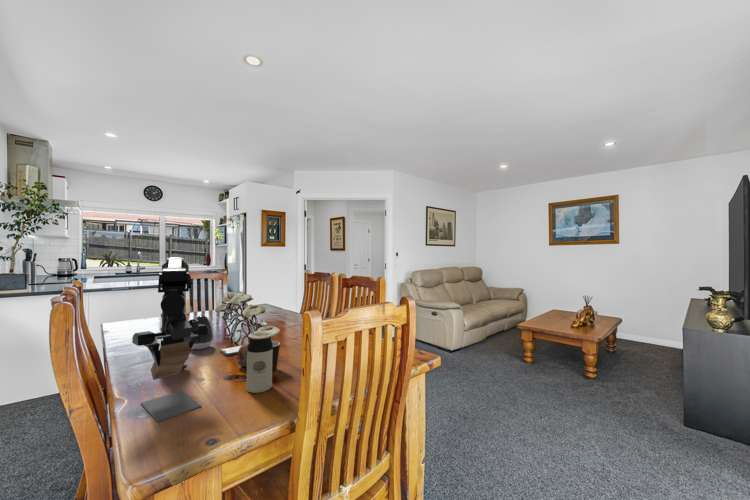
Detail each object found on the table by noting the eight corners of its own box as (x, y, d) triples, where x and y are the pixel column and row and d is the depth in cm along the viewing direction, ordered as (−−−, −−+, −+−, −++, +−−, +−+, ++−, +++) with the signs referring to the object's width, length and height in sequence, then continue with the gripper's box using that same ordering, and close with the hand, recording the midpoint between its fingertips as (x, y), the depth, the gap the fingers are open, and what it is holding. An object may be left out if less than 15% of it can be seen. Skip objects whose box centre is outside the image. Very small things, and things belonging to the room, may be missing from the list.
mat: (140, 404, 93) (140, 402, 93) (181, 391, 101) (181, 390, 101) (157, 422, 83) (157, 420, 83) (201, 406, 92) (201, 405, 92)
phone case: (254, 346, 153) (219, 352, 142) (254, 343, 153) (219, 349, 142) (261, 350, 147) (226, 357, 135) (262, 347, 147) (226, 354, 136)
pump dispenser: (182, 350, 143) (183, 317, 143) (199, 344, 153) (200, 312, 153) (201, 352, 141) (202, 318, 141) (218, 345, 151) (218, 314, 151)
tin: (242, 369, 121) (243, 348, 121) (235, 369, 122) (235, 347, 122) (263, 357, 136) (264, 337, 136) (257, 356, 137) (257, 337, 137)
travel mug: (251, 383, 109) (252, 331, 109) (274, 383, 109) (275, 331, 109) (242, 393, 101) (244, 337, 101) (268, 393, 101) (269, 337, 101)
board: (150, 369, 96) (161, 345, 91) (176, 364, 101) (187, 341, 96) (153, 379, 94) (164, 356, 89) (179, 373, 99) (190, 350, 94)
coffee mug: (284, 367, 124) (284, 342, 124) (269, 375, 116) (270, 348, 116) (259, 364, 128) (260, 339, 128) (244, 371, 119) (245, 345, 120)
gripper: (145, 317, 83) (143, 377, 82) (217, 309, 97) (216, 360, 96) (132, 313, 90) (130, 369, 89) (201, 306, 104) (200, 354, 103)
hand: (172, 362), depth 94 cm, fingers closed on board, 7 cm apart
